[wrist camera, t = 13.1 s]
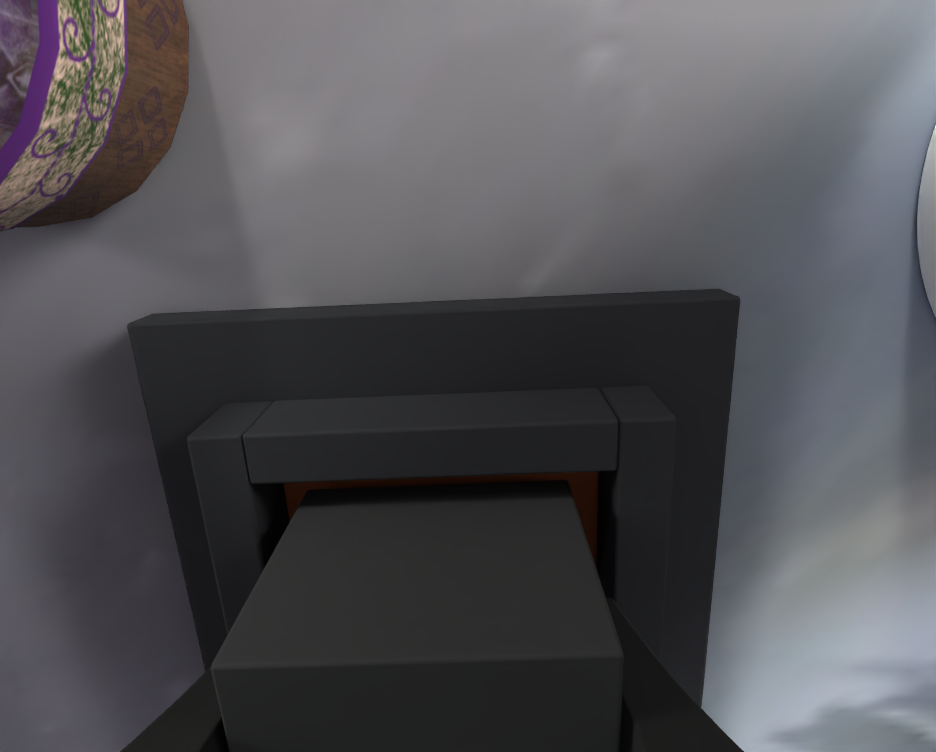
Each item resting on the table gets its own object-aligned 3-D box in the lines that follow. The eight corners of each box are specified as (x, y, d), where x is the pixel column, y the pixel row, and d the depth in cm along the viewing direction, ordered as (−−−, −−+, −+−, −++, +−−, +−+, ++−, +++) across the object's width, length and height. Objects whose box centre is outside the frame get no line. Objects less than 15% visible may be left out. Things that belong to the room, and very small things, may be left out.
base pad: (683, 731, 16) (726, 841, 13) (242, 743, 16) (197, 853, 14) (721, 287, 12) (790, 316, 10) (150, 313, 13) (63, 347, 10)
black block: (567, 686, 13) (613, 933, 9) (336, 694, 13) (269, 941, 9) (568, 478, 12) (625, 653, 7) (307, 488, 12) (208, 666, 7)
